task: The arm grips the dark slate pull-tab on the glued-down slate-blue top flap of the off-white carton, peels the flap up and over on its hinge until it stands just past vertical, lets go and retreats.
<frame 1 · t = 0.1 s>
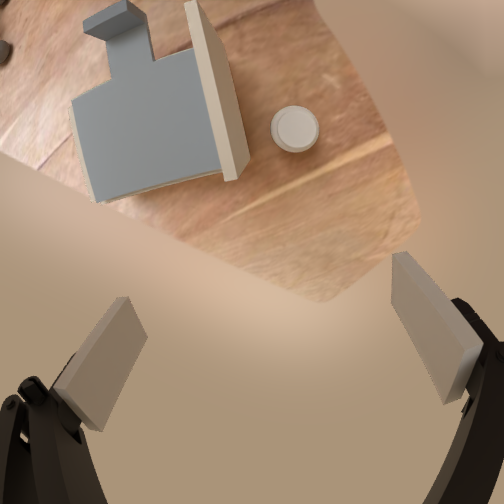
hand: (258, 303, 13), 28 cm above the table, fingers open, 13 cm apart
flap: (128, 94, 23), point 13 cm above the table, hinge at 0.0°
supplement bottle: (290, 128, 36), on the table
carton: (175, 125, 36), on the table
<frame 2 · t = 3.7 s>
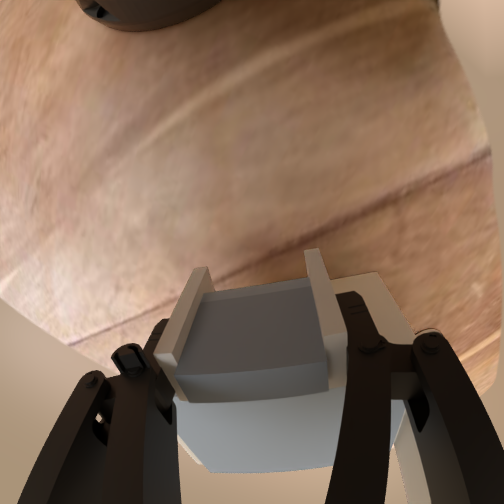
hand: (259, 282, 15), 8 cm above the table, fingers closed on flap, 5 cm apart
flap: (285, 441, 15), point 13 cm above the table, hinge at 0.0°, touching gripper
carton: (287, 347, 28), on the table
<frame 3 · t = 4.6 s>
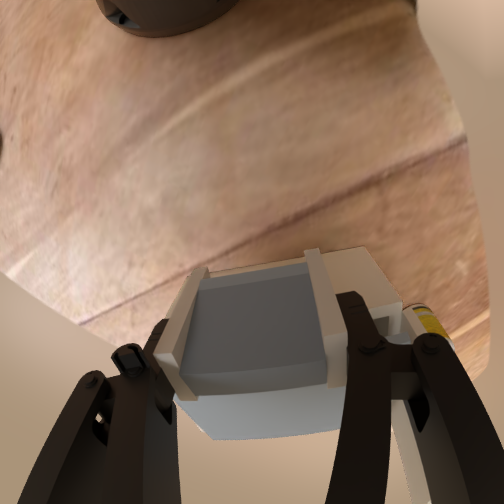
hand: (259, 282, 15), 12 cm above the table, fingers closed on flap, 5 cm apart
flap: (285, 414, 16), point 15 cm above the table, hinge at 10.8°, touching gripper
supplement bottle: (410, 320, 30), on the table
carton: (285, 319, 31), on the table
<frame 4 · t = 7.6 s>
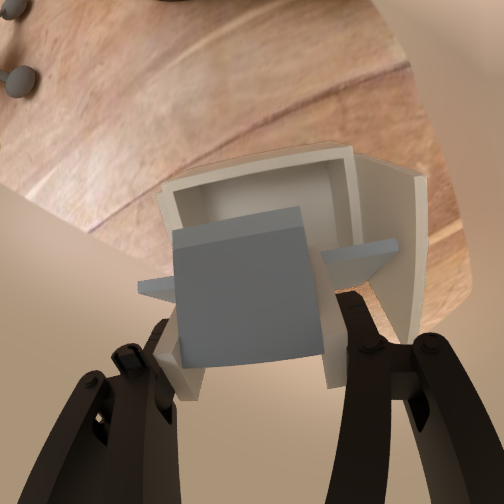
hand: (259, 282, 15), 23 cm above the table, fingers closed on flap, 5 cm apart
flap: (273, 309, 19), point 20 cm above the table, hinge at 50.0°, touching gripper
carton: (269, 207, 37), on the table
molecular model: (4, 68, 28), on the table
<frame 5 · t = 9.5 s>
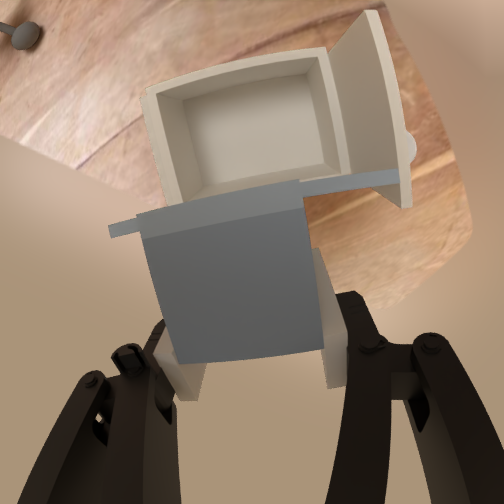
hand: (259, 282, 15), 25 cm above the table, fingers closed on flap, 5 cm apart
flap: (258, 233, 18), point 21 cm above the table, hinge at 77.9°, touching gripper
supplement bottle: (370, 141, 34), on the table
carton: (253, 128, 35), on the table
molecular model: (10, 30, 26), on the table
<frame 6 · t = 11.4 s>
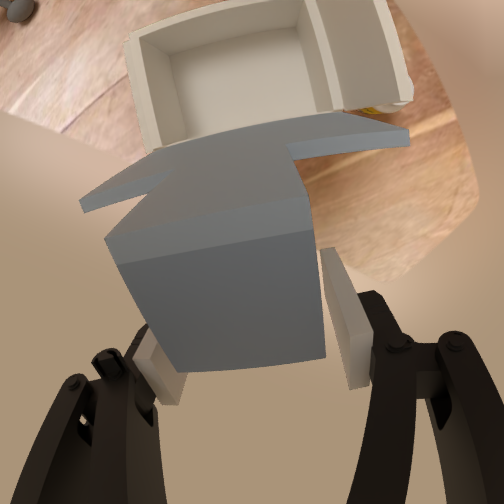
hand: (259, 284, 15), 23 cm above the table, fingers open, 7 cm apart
flap: (245, 189, 16), point 20 cm above the table, hinge at 96.3°
supplement bottle: (365, 94, 30), on the table
carton: (241, 80, 31), on the table
molecular model: (7, 7, 22), on the table
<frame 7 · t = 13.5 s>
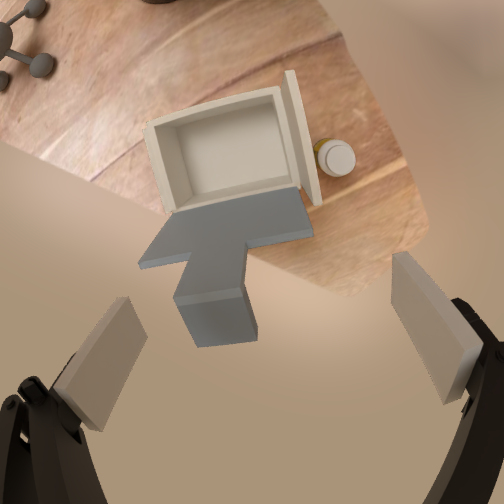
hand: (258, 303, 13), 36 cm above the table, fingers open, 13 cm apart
flap: (229, 254, 30), point 20 cm above the table, hinge at 96.3°
supplement bottle: (327, 154, 44), on the table
carton: (231, 148, 45), on the table
molecular model: (26, 57, 37), on the table
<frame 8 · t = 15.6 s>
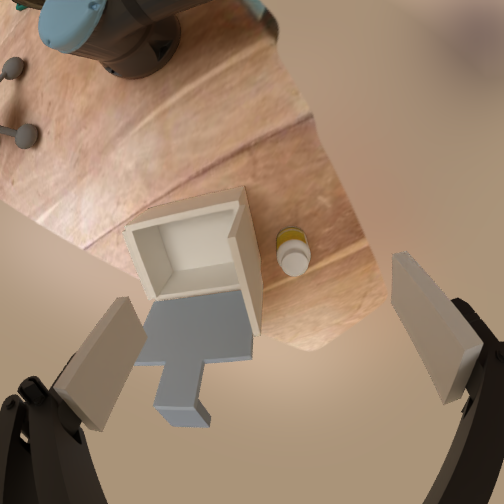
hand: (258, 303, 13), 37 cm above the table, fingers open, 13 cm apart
flap: (195, 355, 37), point 20 cm above the table, hinge at 96.3°
supplement bottle: (291, 239, 51), on the table
carton: (204, 234, 52), on the table
molecular model: (11, 118, 43), on the table
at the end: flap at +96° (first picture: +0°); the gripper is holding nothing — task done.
